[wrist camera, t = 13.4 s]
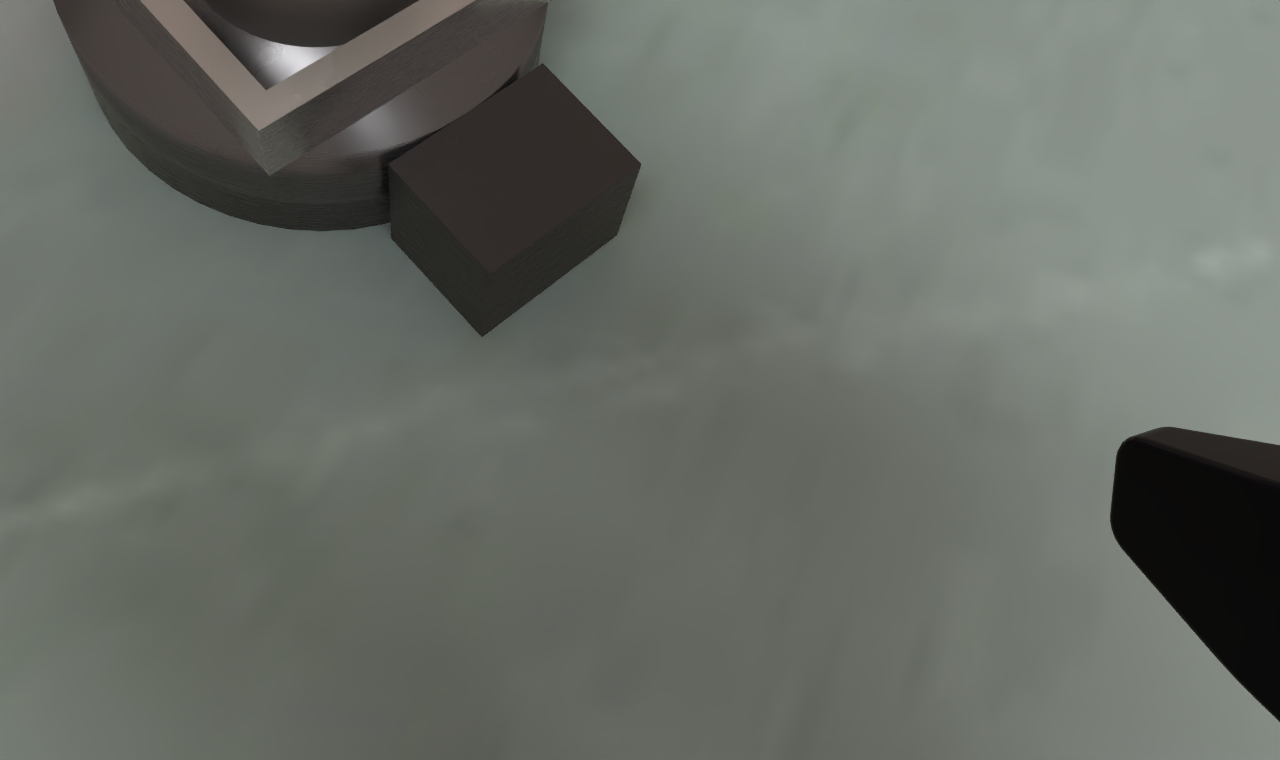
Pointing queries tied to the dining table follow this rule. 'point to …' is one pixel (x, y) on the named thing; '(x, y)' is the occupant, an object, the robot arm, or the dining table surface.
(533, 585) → the dining table surface
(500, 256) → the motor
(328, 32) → the beige teal capped bottle
